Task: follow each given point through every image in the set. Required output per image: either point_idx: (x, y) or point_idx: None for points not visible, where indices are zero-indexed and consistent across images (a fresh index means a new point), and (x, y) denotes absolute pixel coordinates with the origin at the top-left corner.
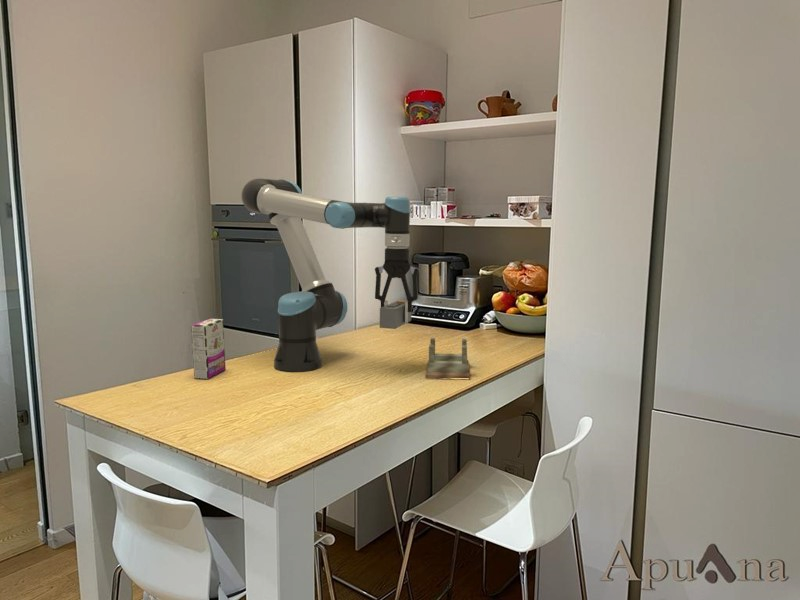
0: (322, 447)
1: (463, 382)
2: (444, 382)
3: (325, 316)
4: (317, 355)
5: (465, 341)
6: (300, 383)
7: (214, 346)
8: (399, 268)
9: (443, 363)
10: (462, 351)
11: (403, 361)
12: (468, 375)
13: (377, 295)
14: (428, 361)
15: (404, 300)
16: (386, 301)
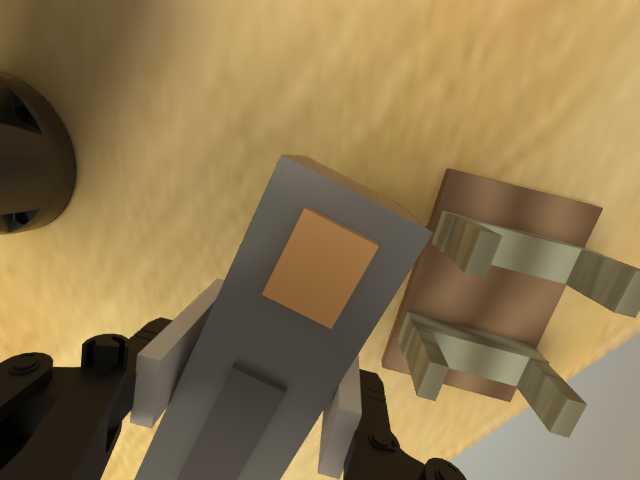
0: None
1: (477, 410)
2: (425, 401)
3: None
4: (29, 192)
5: (627, 314)
6: (54, 341)
7: None
8: None
9: (454, 368)
10: (541, 419)
11: (357, 133)
12: (509, 397)
13: (12, 452)
14: (410, 339)
15: (354, 234)
16: (149, 409)
